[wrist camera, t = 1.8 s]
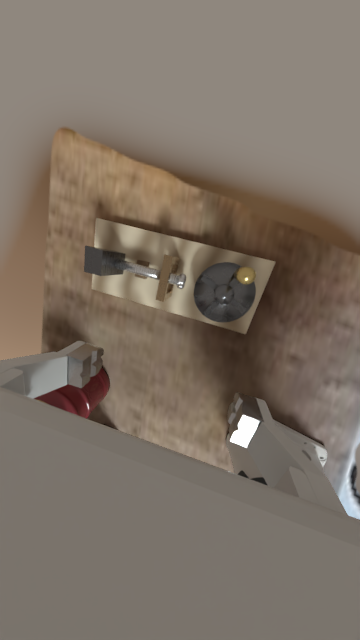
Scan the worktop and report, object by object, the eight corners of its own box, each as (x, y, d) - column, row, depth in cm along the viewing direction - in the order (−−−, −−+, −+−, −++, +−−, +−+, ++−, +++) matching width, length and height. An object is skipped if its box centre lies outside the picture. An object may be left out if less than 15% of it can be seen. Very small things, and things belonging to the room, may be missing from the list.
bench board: (272, 262, 30) (281, 261, 26) (244, 331, 35) (248, 339, 31) (100, 219, 33) (85, 213, 30) (96, 288, 38) (82, 290, 34)
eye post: (180, 258, 31) (173, 256, 26) (171, 296, 34) (163, 301, 28) (172, 256, 32) (164, 254, 26) (164, 294, 34) (155, 299, 29)
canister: (104, 357, 44) (38, 412, 27) (116, 398, 47) (63, 469, 31) (63, 358, 47) (-20, 408, 30) (77, 397, 50) (10, 460, 34)
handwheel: (264, 271, 27) (277, 272, 21) (241, 327, 30) (248, 341, 24) (203, 255, 28) (200, 252, 22) (188, 311, 31) (182, 321, 25)
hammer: (189, 270, 31) (183, 271, 25) (184, 291, 33) (177, 297, 26) (107, 248, 33) (80, 244, 26) (105, 269, 34) (79, 270, 28)
